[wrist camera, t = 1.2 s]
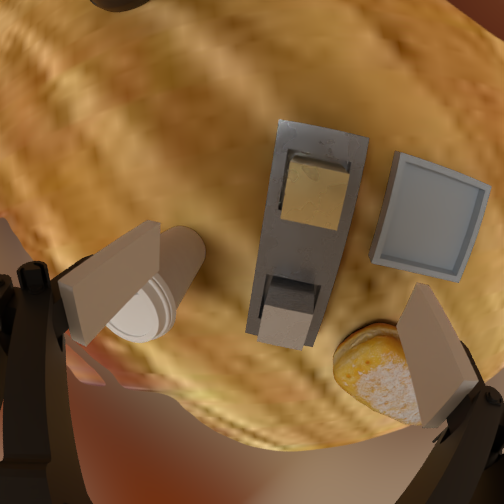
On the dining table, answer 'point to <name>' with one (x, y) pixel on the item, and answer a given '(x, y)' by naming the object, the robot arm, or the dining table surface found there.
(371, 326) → the bread
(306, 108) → the dining table surface
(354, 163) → the grey slotted holder
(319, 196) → the tan rectangular block
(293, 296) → the grey rectangular block
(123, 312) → the coffee cup
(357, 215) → the dining table surface
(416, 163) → the parts tray
